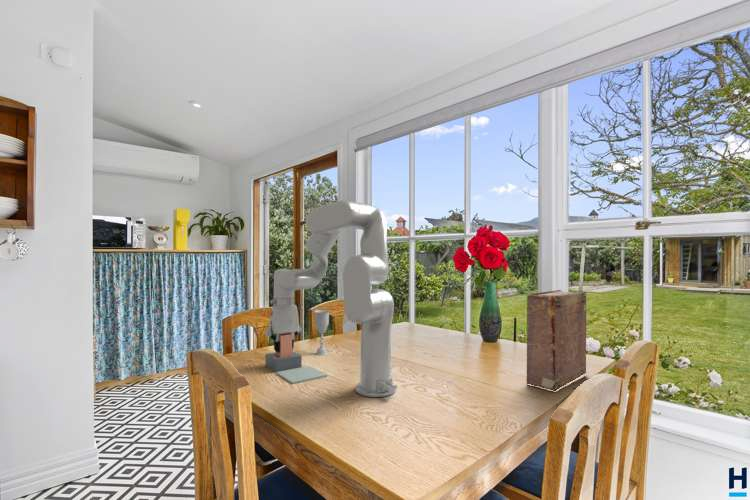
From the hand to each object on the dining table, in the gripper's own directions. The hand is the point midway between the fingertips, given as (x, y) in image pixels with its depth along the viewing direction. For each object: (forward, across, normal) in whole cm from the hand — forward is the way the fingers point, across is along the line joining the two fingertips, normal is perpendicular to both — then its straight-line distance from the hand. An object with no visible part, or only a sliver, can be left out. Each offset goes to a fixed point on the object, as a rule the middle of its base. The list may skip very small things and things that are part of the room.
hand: (283, 350), depth 144 cm
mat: (+6, +1, -13) cm, 14 cm away
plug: (+6, 0, 0) cm, 6 cm away
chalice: (+6, +21, +8) cm, 23 cm away
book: (+7, +68, -69) cm, 98 cm away
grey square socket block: (+6, 0, 0) cm, 6 cm away
